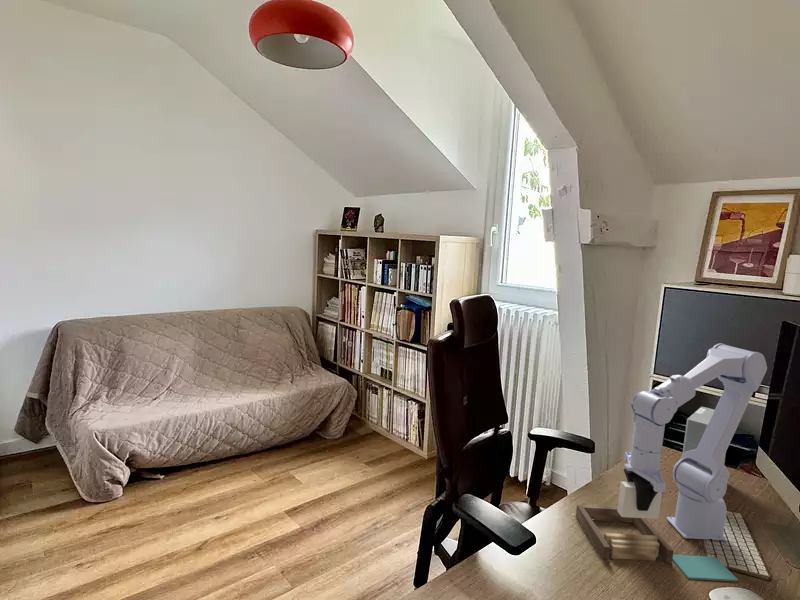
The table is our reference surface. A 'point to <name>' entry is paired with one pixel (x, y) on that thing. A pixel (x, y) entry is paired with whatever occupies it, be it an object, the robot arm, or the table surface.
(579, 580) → the table surface
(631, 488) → the off-white rectangular block
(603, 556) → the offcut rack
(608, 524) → the table surface
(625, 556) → the offcut stack
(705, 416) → the hard drive box
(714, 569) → the teal mat
